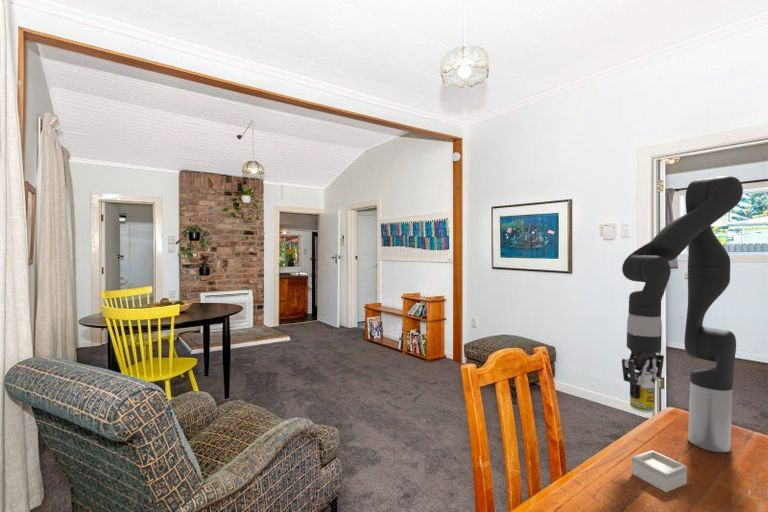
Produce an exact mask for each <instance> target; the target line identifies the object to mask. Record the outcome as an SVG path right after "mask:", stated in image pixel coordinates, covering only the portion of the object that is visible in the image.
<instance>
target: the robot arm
mask: <svg viewBox="0 0 768 512" xmlns="http://www.w3.org/2000/svg"><path fill="white" fill-rule="evenodd" d="M743 188H744V187H743V184H742V182H741V181H740V180H739V179H738V178H737V177H734V176H732V175H723V176H722V175H721V176H715V177H707V178H699V179H694V180H692V181H691V182H690V183H689V184H688V185H687V188H686V190H685V191H686V192H685V195H684V196H685V197H684V199H685V214H683V215H682V216H680V217H678V218H676V219H675V220H673V221H671V222H670V223H668V224H667V225H665V226H664V227H663V228H662V229H661V230H660V231H659V232H658V234H656V235H655V236H654V238H652V240H651V241H649V242H648V243H646V244H644V245H642V246H641V247H639V248H638V249H636V250H634V251H633V252H632V253H630V254H629V255H628V256H627V257H626V258H625V260H624V261H623V264H622V268H621V270H622V274H623V276H624V277H625V278H626V280H629V281H632V282H640V283H645V284H644V285H643V288H642V290H637V291H636V290H635V291H631V293H629V297H628V317H627V320H626V322H627V323H626V348H627V349H628V350H630V355H629V358H628V359H626V358H622V359H621V367H622V374H623V376H622V377H623V381H624V382H627V383H629V397H630V396H631V397H632V398H635V399H640V383H641V379H642V377H644V376H645V372H649V373H651V374H652V380H651V381H652V382H653V383H654V384H655V385H656V381H657V380H658V378H660V379H661V377H662V373H663V368H664V360H665V355H663V354H659V353H660V352H662V340H663V339H662V336H663V335H662V333H663V332H662V330H663V329H662V328H663V323H662V300H663V297H664V294H665V292H666V291H665V290H666V289H667V285H668V283H669V280H670V277H671V272H672V270H671V269H672V268H671V265H670V263H669V262H670V261H673V260H675V259H677V258H678V257H679V256H680V255H681V254H682V252H683V251H685V249H686V248H687V247H688V248H687V249H688V253H687V254H688V255H687V257H688V258H687V311H686V312H687V313H686V320H685V327H684V328H685V330H684V339H683V340H684V350H685V353H686V355H687V356H689V357H691V358H695V359H699V360H704V361H709V362H713V363H716V365H715V366H714V367H712V368H707V369H705V368H704V369H695V370H693V371H691V372H690V375H689V377H690V378H689V403H688V404H689V405H688V407H689V408H688V427H687V428H688V431H687V439H688V440H687V441H689V443H691V444H692V445H694V446H696V447H698V448H701V449H703V450H706V451H709V452H713V453H720V454H721V453H723V454H724V453H729V452H731V440H732V439H731V438H732V416H733V414H732V412H733V411H732V410H733V384H734V375H735V373H734V372H735V361H736V352H737V339H736V336H735V334H734V332H733V331H730V330H728V329H727V330H726V329H720V328H714V327H709V326H708V327H707V326H703V325H704V323H703V322H704V319H705V316H706V313H707V311H708V310H709V309H710V307H711V306H712V305H713V304H714V303H715V301H716V300H717V299H718V298H719V297H721V295H722V294H723V293H724V292H725V291H726V289H727V287H728V286H729V285H730V282H731V259H730V258H731V257H730V255H729V253H728V251H727V249H726V248H725V247H724V245H723V244H722V243H721V241H720V240H719V238H718V237H717V236H716V234H715V233H714V231H713V228H712V225H713V224H714V223H715V222H717V221H718V220H720V219H721V218H723V217H724V216H725V215H727V213H730V212H731V211H732V210H733V209H735V207H736V206H737V205H739V203H740V201H741V200H742V197H743V192H744V189H743ZM636 371H640V372H636ZM635 375H637V379H636V376H635Z"/></svg>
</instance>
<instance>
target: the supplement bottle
mask: <svg viewBox="0 0 768 512" xmlns="http://www.w3.org/2000/svg"><path fill="white" fill-rule="evenodd" d="M635 371H636V372H640V371H637V370H635ZM635 376H636V379H637V375H635ZM651 380H652V374H651V373H649V372H645V376H644V377H642V379H641V383H640V399H635V398H632V397H631V396H630V395H629V400H630V401H629V406H630V408H631V409H633V410H634V411H636V412H640V413H643V414H645V413H646V414H648V413H654V411H655V403H656V402H655V401H656V400H655V396H656V383H655V384H654V383H653V382H652V381H651Z"/></svg>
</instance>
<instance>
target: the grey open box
mask: <svg viewBox="0 0 768 512" xmlns="http://www.w3.org/2000/svg"><path fill="white" fill-rule="evenodd" d="M631 475H633V476H635V477H637V478H639V479H641V480H642V481H645V482H646V483H648V484H649V485H652V486H654V487H656V488H658V489H659V490H661V491H663V492H665V493H669V492H670V491H671V492H672V491H673V490H675V489H677V488H680V487H682V486H685V485H687V483H688V465H686V464H683V463H681V462H679V461H678V460H675V459H672V458H671V457H668V456H666V455H664V454H662V453H659V452H657V451H655V450H653V449H652V450H647V451H645V452H643V453H640V454H639V453H638V454H637V455H633V456H632V457H631Z"/></svg>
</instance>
